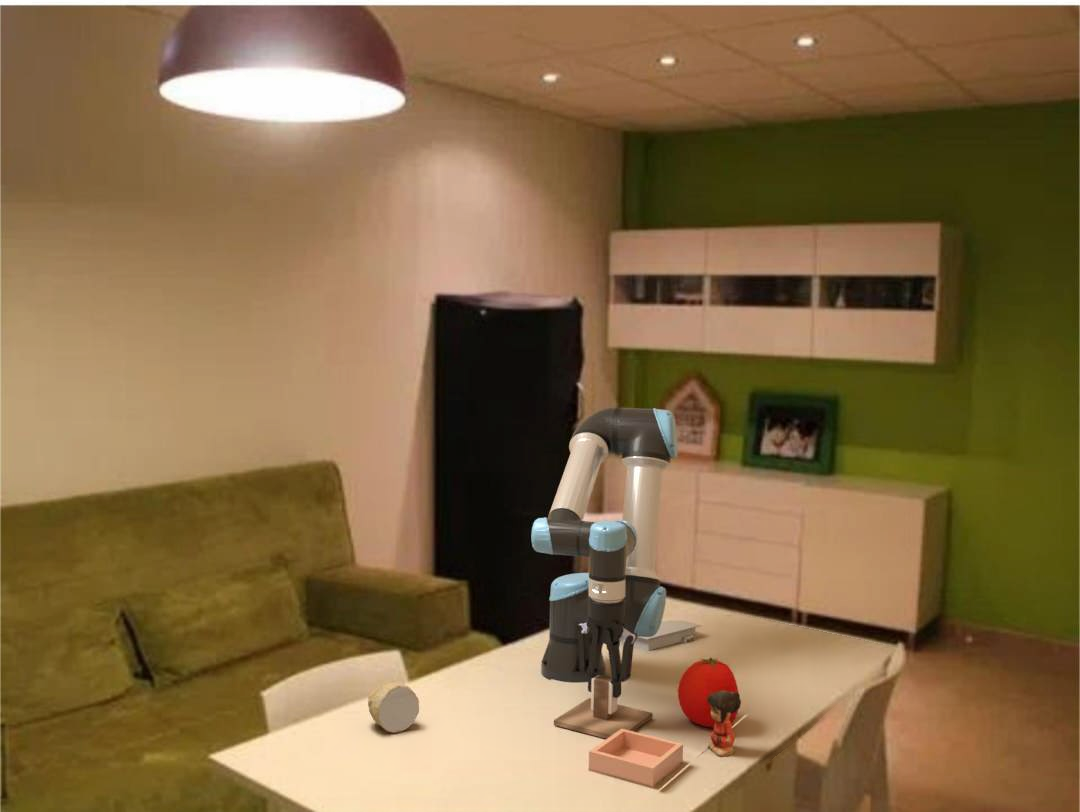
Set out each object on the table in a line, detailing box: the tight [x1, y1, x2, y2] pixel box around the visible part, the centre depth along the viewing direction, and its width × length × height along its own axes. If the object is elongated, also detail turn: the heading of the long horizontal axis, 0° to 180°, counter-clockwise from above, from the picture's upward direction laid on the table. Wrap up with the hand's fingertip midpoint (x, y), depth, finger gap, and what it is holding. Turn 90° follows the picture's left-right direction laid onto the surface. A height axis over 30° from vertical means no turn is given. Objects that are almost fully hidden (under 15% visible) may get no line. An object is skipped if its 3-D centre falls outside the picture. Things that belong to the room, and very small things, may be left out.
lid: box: [553, 675, 653, 740], centre depth 214 cm, size 15×15×9 cm
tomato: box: [677, 657, 739, 729], centre depth 215 cm, size 13×11×14 cm
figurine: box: [707, 690, 742, 757], centre depth 203 cm, size 6×6×12 cm
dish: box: [588, 729, 684, 789], centre depth 194 cm, size 13×13×4 cm
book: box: [619, 619, 702, 651], centre depth 274 cm, size 15×23×4 cm, turn 130°
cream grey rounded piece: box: [367, 681, 420, 734], centre depth 211 cm, size 10×10×10 cm
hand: (603, 709), depth 214 cm, fingers closed on lid, 3 cm apart
